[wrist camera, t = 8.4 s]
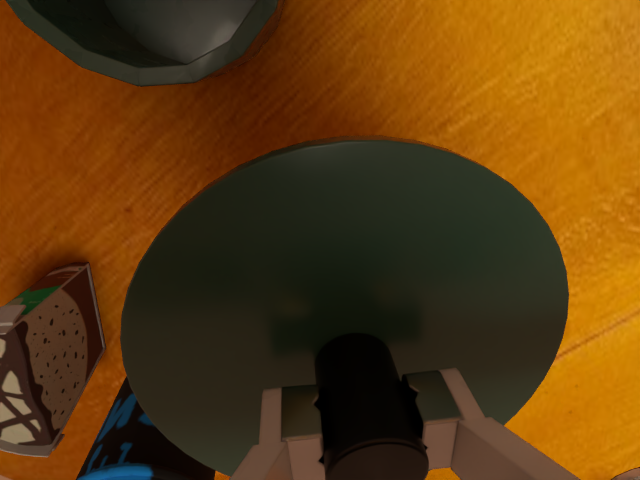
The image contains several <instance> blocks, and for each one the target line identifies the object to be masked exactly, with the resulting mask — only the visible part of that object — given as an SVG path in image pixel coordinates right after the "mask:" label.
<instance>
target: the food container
mask: <svg viewBox="0 0 640 480" xmlns="http://www.w3.org/2000/svg"><path fill="white" fill-rule="evenodd" d="M105 349H106V346H105V341H104V336H103V331H102V326H101V321H100V316H99V310H98V305H97V300H96V295H95V290H94V285H93V280H92V275H91V270H90V265H89V262H85V263H72V264H69V265H65V266H62V267H58V268H56V269H55V270H53V271H52V272H51V273H49V274H48V275H46V276H45V277H44V278H42V279H41V280H39V281H38V282H37V283H35V284H34V285H32V286H31V287H30V288H28V289H27V290H25V291H24V292H23V293H21V294H20V295H18V296H17V297H16V298H14V299H13V300H12V301H10V302H9V303H7V304H6V305H5V306H3V307H0V450H2V451H5V452H9V453H14V454H19V455H26V456H35V457H48V456H49V455H50V453H51V452H52V451H54V450H55V449H56V447H57V446H58V444H59V443H60V442H61V440H62V439H63V437H64V436H65V434H61V433H62V431H63V429H64V427H65V425H66V423H67V421H68V420H69V418H70V416H71V414H72V412H73V410H74V408H75V406H76V404H77V402H78V400H79V399H80V397H81V395H82V393H83V391H84V389H85V387H86V385H87V383H88V381H89V380H90V378H91V376H92V374H93V372H94V370H95V368H96V366H97V364H98V362H99V361H100V359H101V357H102V355H103V353H104V351H105Z"/></svg>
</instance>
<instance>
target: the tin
mask: <svg viewBox="0 0 640 480" xmlns="http://www.w3.org/2000/svg"><path fill="white" fill-rule="evenodd" d="M6 2H7V3H8V4H9V6H10V7H11V8H12V10H13V11H14V12H15V14H16V15H17V16H18V18H19V19H20V20H21V21H22V22H23V23H24V25H26V26H27V27H28V28H30V29H31V30H32V31H34V32H35V33H36V34H38V35H39V36H40V37H42V38H43V39H44V40H46V41H47V42H48V43H50V44H51V45H52V46H54V47H55V48H56V49H57V50H59V51H60V52H61V53H63V54H64V55H65V56H67V57H68V58H69V59H71V60H72V61H73V62H75V63H76V64H77V65H79V66H81V67H82V68H85V69H88V70H91V71H94V72H97V73H100V74H103V75H106V76H109V77H112V78H115V79H118V80H121V81H124V82H127V83H130V84H133V85H136V86H141V87H142V86H157V85H172V84H188V83H196V82H199V81H202V80H206V79H209V78H212V77H216V76H219V75H222V74H225V73H226V72H228V71H230V70H232V69H234V68H235V67H237V66H239V65H241V64H243V63H244V62H246V61H248V60H250V59H252V58H253V57H255V56H256V55H257V53H258V52H259V51H260V49H261V48H262V46H263V45H264V44H265V43H266V42H267V40H268V39H269V37H270V36H271V34H272V33H273V32H274V30H275V29H276V28H277V26H278V24H279V21H280V18H281V14H282V10H283V6H284V3H285V0H6Z"/></svg>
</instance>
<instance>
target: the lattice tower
mask: <svg viewBox="0 0 640 480" xmlns="http://www.w3.org/2000/svg"><path fill="white" fill-rule="evenodd" d="M612 480H640V468H637V469H633V470H630V471H628V472H626V473H623V474H621V475H619V476H616V477H615V478H613V479H612Z"/></svg>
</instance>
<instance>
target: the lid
mask: <svg viewBox="0 0 640 480" xmlns="http://www.w3.org/2000/svg"><path fill="white" fill-rule="evenodd" d="M568 299H569V291H568V282H567V272H566V268H565V265H564V261H563V258H562V254H561V251H560V248H559V245H558V243H557V241H556V239H555V237H554V235H553V234H552V232H551V230H550V228H549V226H548V224H547V223H546V221H545V220H544V219H543V217H542V216H541V215H540V213H539V212H538V211H537V209H536V208H535V207H534V205H533V204H532V203H531V202H530V201H529V200H528V199H527V198H526V197H525V196H524V195H523V194H521V193H520V192H519V191H518V190H517V189H516V188H515V187H514V186H513V185H512V184H511V183H509V182H508V181H506V180H505V179H503V178H501V177H500V176H498V175H497V174H495V173H494V172H492V171H491V170H489V169H488V168H486V167H485V166H483V165H481V164H479V163H477V162H475V161H473V160H471V159H469V158H466V157H464V156H462V155H460V154H457V153H455V152H453V151H451V150H448V149H446V148H442V147H438V146H435V145H431V144H428V143H424V142H420V141H417V140H411V139H403V138H396V137H388V136H380V135H379V136H339V137H332V138H326V139H319V140H312V141H306V142H303V143H299V144H296V145H292V146H288V147H285V148H281V149H278V150H274V151H271V152H269V153H267V154H264V155H262V156H260V157H257V158H255V159H253V160H251V161H248V162H246V163H244V164H241V165H239V166H237V167H236V168H234V169H232V170H231V171H229V172H227V173H226V174H224V175H222V176H221V177H219V178H218V179H216V180H214V181H213V182H211V183H209V184H208V185H207V186H206V187H204V188H203V189H202V190H201V191H199V192H198V193H197V194H196V195H195V196H193V197H192V198H191V199H190V200H189V201H187V202H186V203H185V204H184V205H183V206H182V207H181V208H180V209H179V210H178V211H177V212H176V213H175V214H174V216H173V217H172V218H171V219H170V220H169V221H168V222H167V223H166V224H165V226H164V227H163V228H162V229H161V230H160V232H159V233H158V235H157V236H156V237H155V239H154V241H153V242H152V244H151V245H150V247H149V248H148V250H147V251H146V253H145V254H144V256H143V257H142V259H141V261H140V262H139V264H138V266H137V269H136V271H135V273H134V276H133V278H132V280H131V283H130V285H129V287H128V290H127V294H126V299H125V303H124V307H123V311H122V318H121V336H120V341H121V349H122V357H123V365H124V368H125V371H126V374H127V378H128V381H129V384H130V387H131V389H132V391H133V393H134V395H135V397H136V399H137V401H138V403H139V405H140V406H141V408H142V409H143V411H144V412H145V413H146V415H147V416H148V418H149V419H150V420H151V422H152V423H153V424H154V425H155V426H156V427H157V429H158V430H159V431H160V432H161V433H162V434H163V435H164V436H165V437H166V438H167V439H168V440H169V441H171V442H172V443H173V444H174V445H176V446H177V447H178V448H179V449H181V450H182V451H183V452H184V453H186V454H187V455H189V456H191V457H192V458H194V459H195V460H197V461H199V462H200V463H202V464H204V465H205V466H208V467H210V468H212V469H214V470H216V471H218V472H220V473H222V474H225V475H228V476H230V477H231V476H232V475H233V473H234V472H235V471H236V469H237V468H238V466H239V465H240V463H241V462H242V461H243V459H244V458H245V456H246V455H247V453H248V452H249V451H250V449H251V448H252V446H253V445H258V444H259V435H260V420H261V405H262V393H263V390H264V389H269V388H280V387H289V386H301V385H313V384H318V394H319V403H320V413H321V424H322V434H323V445H324V455H323V461H324V471H325V480H425V478H426V476H427V474H428V471H430V470H432V469H429V459H428V456H427V453H426V450H425V447H424V445H423V442H422V439H421V436H420V433H419V431H418V428H417V425H416V422H415V419H414V417H413V414H412V411H411V408H410V405H409V403H408V400H407V397H406V394H405V392H404V389H403V386H402V383H401V378H402V375H403V374H407V373H415V372H423V371H431V370H441V369H450V368H456V369H457V370H459V372H460V374H461V376H462V377H463V379H464V381H465V383H466V384H467V386H468V388H469V390H470V391H471V393H472V395H473V397H474V399H475V400H476V402H477V404H478V406H479V407H480V409H481V411H482V413H483V414H484V416H485V417H491V418H493V419H494V420H496V421H497V422H499V423H500V424H501V425H503V426H504V425H505V424H506V423H507V422H508V421H509V420H510V419H511V418H512V417H513V416H515V415H516V414H517V412H518V411H519V410H520V409H521V408H522V407H523V406H524V405H525V403H526V402H527V401H528V400H529V399H530V398H531V397H532V395H533V394H534V392H535V391H536V390H537V388H538V387H539V385H540V384H541V382H542V381H543V380H544V378H545V376H546V374H547V372H548V371H549V369H550V367H551V365H552V363H553V361H554V360H555V357H556V354H557V352H558V349H559V346H560V344H561V341H562V338H563V334H564V330H565V325H566V321H567V315H568Z"/></svg>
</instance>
